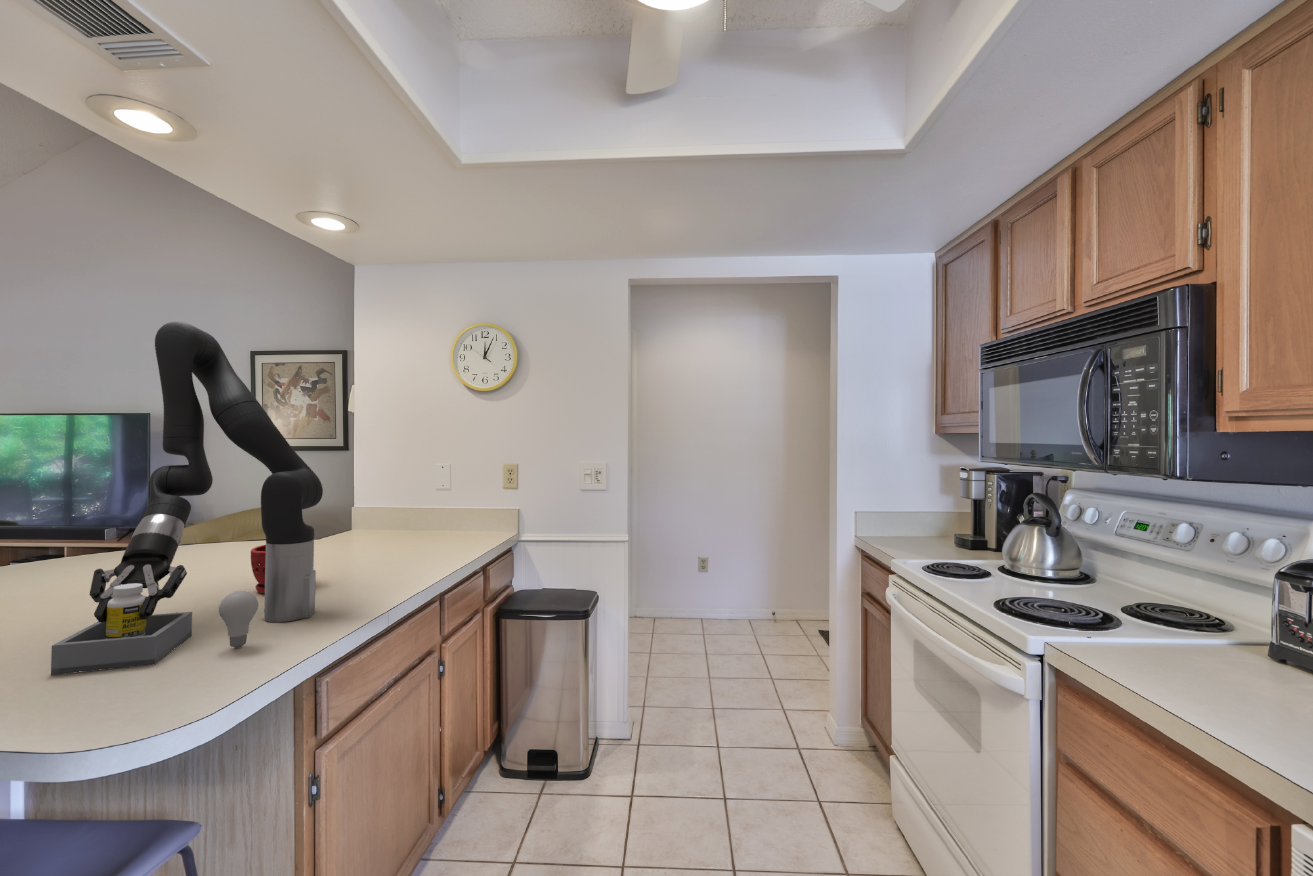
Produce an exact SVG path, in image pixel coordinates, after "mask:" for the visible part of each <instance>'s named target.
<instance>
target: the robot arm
mask: <svg viewBox="0 0 1313 876" xmlns="http://www.w3.org/2000/svg"><path fill="white" fill-rule="evenodd" d="M154 349H155V355H156V362H157V368H158V374H159V379H160V380H159V381H160V386H161V387H160V388H161V394H162V395H161V396H162V402H163V425H162V427H163V428H162V432H163V433H162V450H163V451H164V453H166V454H169V455H175V456H183V457H185V458H186V460H187V463H188V464H174V465H173V464H171V465H162V466H160V467H158V468H156V469H155V470H154V471H153V472H152V473H151V474H150V477H149V499H148V505H147V508H146V510H145V512H144V514H143V516H142V518H141V520H140V522H139V523H138V524H137V526H136V528H135V529H134V532H133V534H132V536H131V538H130V540H129V542H128V544H127V547H126V549H125V551H124V552H123V555H122V557H121V560H120V563H119V564H118V565H116V566H115V567H114V568H113V569H107V570H106V569H105V570H103V569H102V568H97V569H95V570H94V571H93V575H92V581H91V585H90V589H89V594H88V595H89V596H90V598H91V599H92V600H93V601H94V603H96V604H97V603H98V604H97V606H96V608H95V611H94V613H93V615H94V617H95V619H96V620H97V622H98V621H99V622H100V623H101V622H106V619H107V604H108V602H109V601H110V600H111V599H113V598H115V596H113V588H114V587H116V586H119V585H124V584H133V583H139V584H143V589H147V593H148V596H146V598H145V600H144V603H143V605H142V607H141V610H140V612H139V616H140V618H141V619H142V620H143V619H148V616H151V615H154V612H155V610H156V608H157V605H158V603H159V601H161V600H162V599H165V598H166V599H171V598H173V596H174V595H175V594H176V591H178V589H179V587H180V586H181V584H182V582H183V581H184V579H185V578H186V576H187V575H188V573H187V570H186V568H185V566H184V565H183V564H179V565H177V566H171V565H172V562H173V560H174V558H175V555H176V552H177V550H178V548H179V545H180V544H181V542H182V539H183V538H182V537H183V534H184V529H185V527H186V523H187V521H188V518H189V516H190V514H191V511H192V504H191V503H190V501H189V500H187V499H186V498H184V497H190V496H191V497H192V496H193V497H194V496H203V495H204V494H206V493H207V492H208V491H210V489H211V488H212V485H213V480H214V479H213V474H212V471H211V468H210V465H209V462H208V459H207V456H206V452H205V445H204V441H205V440H204V438H205V435H204V434H205V419H204V414H203V410H202V406H201V404H200V400H199V398H198V395H197V392H196V389H195V385H194V380H193V375H194V376H195V377H196V379H197V380H198V381H199V382H200V383H201V385H202V386H203V387H204V389H205V391H206V393H207V399H208V404H209V410H210V413H211V415H212V418H213V419H214V420H215V422H216V424H217V425H218V426H219V427H220V428H219V429H221V430H222V432H223V433H224V435H226V437H227V438H228V439H229V440H230V441H231V442H232V443H233V444H234V445H236V446H237V447H238V448H240V449H241V450H243V451H244V452H245V453H247V454H248V455H250V456H251V457H253V458H255V460H256V459H257V460H258V461H259V462H260V463H261V464H262V465H264V466H265V467H266V468H267V469H268V470H269V471H270V473H271V474H270V475H268V477H266V479H265V480H264V482H263V483H262V488H261V491H260V511H261V513H260V514H261V515H260V517H261V529H262V531H263V533H264V535H265V545H266V560H265V593H264V608H263V609H264V610H263V612H264V613H263V614H264V616H263V618H264V620H265V621H266V622H270V623H283V622H291V621H296V620H301V619H307V618H310V617H311V616H312V614H313V613H314V612H315V610H316V584H317V583H316V581H317V580H316V579H317V572H316V570H315V568H314V565H315V563H314V562H315V558H314V557H315V528H314V527H313V526H311V525H309V524H306V523H305V521H304V518H303V510H307V509H310V508H313V507H315V506H317V505H318V504H319V503H320V502H321V500H322V498H323V495H324V494H323V493H324V492H323V491H324V489H323V484H322V482H321V479H320V478H319V476H318V475H317V474H316V473H315V472H314V470H312V468H311V467H310V466H309V465H308V464H307V463H306V462H305V461H304V459H302V458H301V457H300V456H299V454H298V453H297V452H296V451H295V450H294V448H292V445H291V444H290V443H289V442H288V441H287V439H286V438H285V437H284V435H283V434H282V433H281V431H280V430H279V429H278V427H277V426H276V425H275V424H274V423H275V422H273V420H272V419H271V417H270V416H269V414H268V412H267V411H266V410H265V409H264V407H263V406H262V405H261V403H260V402H259V401H258V399H256V397H255V396H254V395H253V393H252V391H250V389H249V388H248V386H247V385H246V384H245V383H244V382H243V380H242V379H241V378H240V377H239V376H238V374H237V372H236V371H235V370H234V368H233V366H232V364H231V363H230V361H229V359H228V358H227V357H228V356H226V354H225V352H224V350H223V349H222V346H221V345H220V343H219V342H218V340H216V337H214V336H212V334H210V333H208V332H206V331H204V330H202V329H200V328H198V327H196V326H194V325H192V324H189V323H187V322H183V321H179V320H178V321H170V322H166V323H165V324H163V325H162V326H161V327H160V328H159V329H158V330H157V332H156V334H155V337H154ZM168 575H169V577H168V579H167V581H166V582H165V583H164V585H163V586H162V588H160V585H159V581H161V580H162V579H164V578H165V577H166V576H168ZM113 577H116V578H115V579H114V580H113V581H112V582H111V583H110V581H111V579H112V578H113ZM107 583H110V584H109V587H108V588H107V587H106V586H107ZM106 588H107V589H106Z"/></svg>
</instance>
